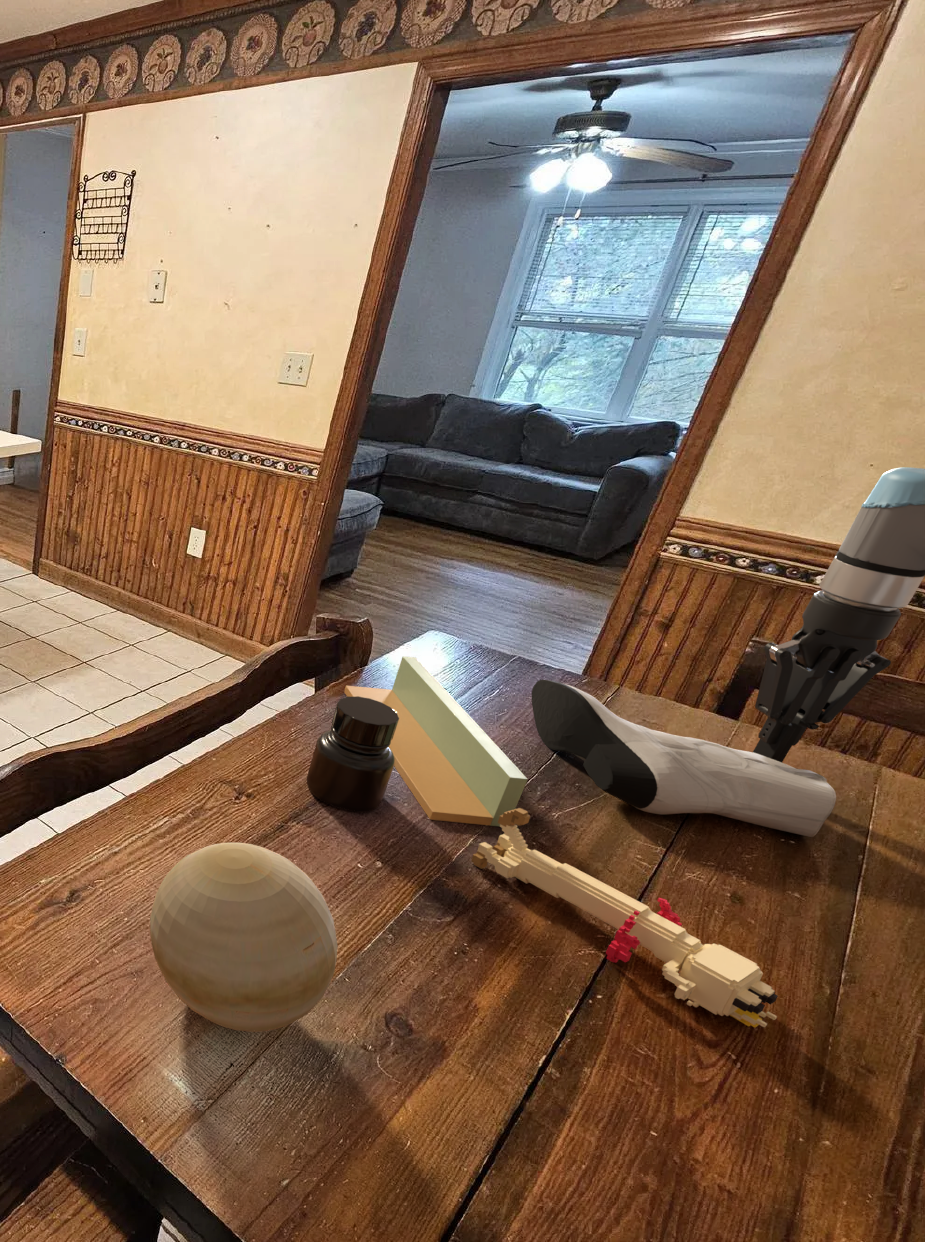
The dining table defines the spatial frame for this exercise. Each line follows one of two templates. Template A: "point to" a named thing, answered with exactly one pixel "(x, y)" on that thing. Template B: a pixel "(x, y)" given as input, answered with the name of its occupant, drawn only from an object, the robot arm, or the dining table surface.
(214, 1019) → the decorative ball
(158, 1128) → the dining table surface
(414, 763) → the wall shelf
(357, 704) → the ink bottle
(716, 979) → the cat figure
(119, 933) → the dining table surface
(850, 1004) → the dining table surface
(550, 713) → the grey boot
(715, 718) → the dining table surface
